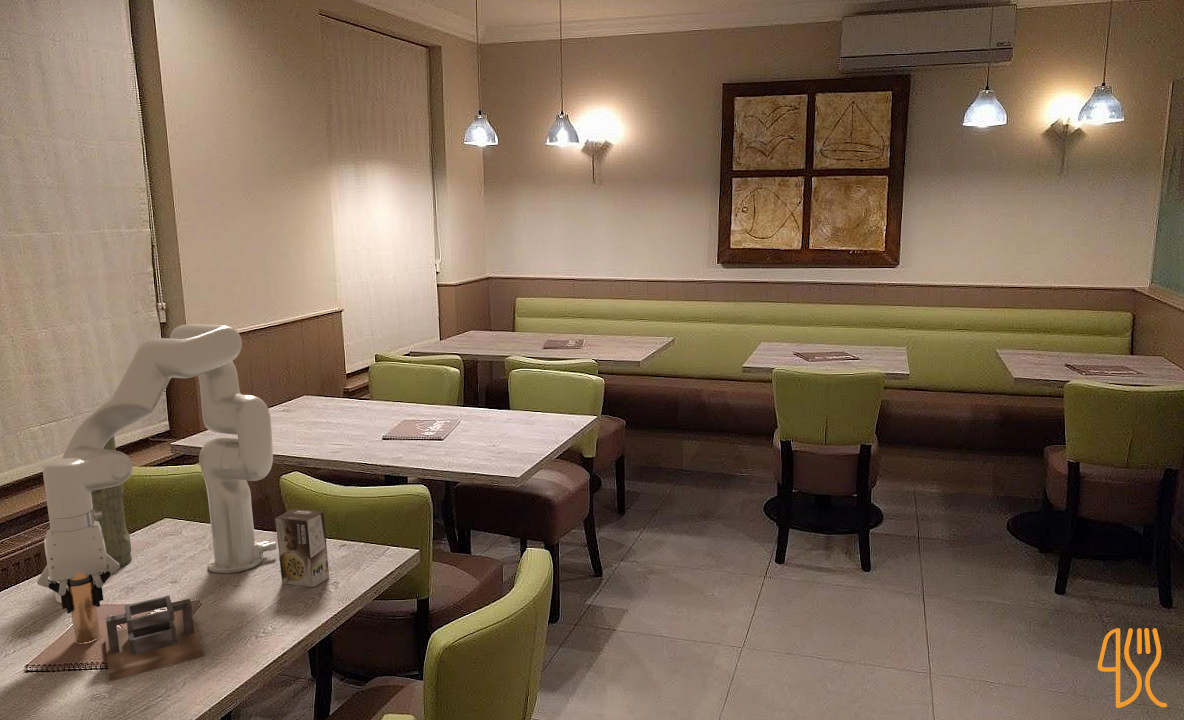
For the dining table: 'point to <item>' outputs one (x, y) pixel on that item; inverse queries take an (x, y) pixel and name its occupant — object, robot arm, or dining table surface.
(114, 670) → the collar stand
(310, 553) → the coffee box
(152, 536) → the dining table surface
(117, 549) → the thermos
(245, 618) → the dining table surface
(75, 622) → the tan cylinder
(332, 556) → the dining table surface
